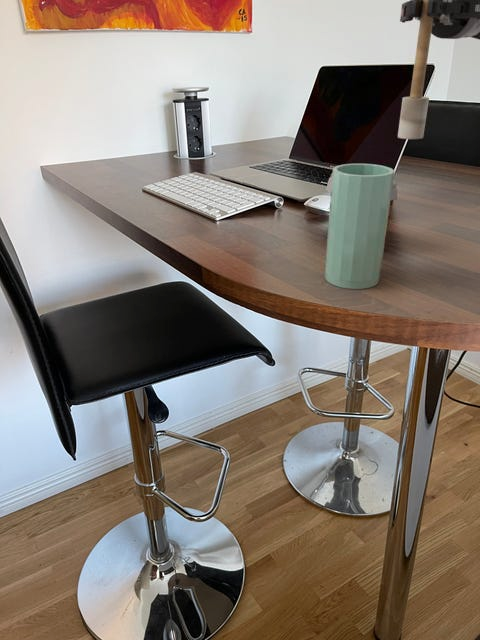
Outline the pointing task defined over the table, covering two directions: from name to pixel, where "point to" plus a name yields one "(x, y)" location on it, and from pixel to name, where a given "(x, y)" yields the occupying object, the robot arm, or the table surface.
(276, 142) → the table surface
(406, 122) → the brush
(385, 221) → the mint green pencil cup
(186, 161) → the table surface
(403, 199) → the table surface
